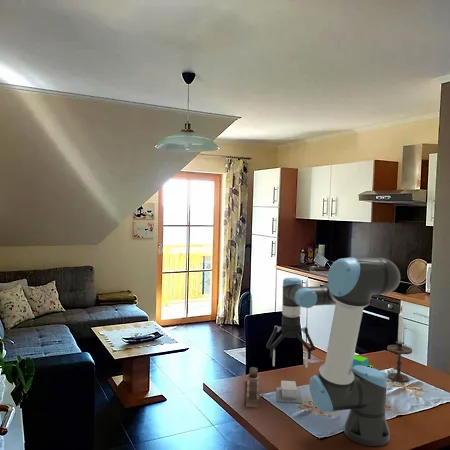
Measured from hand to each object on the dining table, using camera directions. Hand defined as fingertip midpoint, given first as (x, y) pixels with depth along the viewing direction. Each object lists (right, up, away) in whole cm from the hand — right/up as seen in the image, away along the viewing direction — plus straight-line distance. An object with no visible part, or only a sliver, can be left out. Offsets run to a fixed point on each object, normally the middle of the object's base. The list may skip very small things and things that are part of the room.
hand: (290, 365), depth 182 cm
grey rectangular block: (0, -12, +1) cm, 12 cm away
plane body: (-15, -12, +2) cm, 20 cm away
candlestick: (+54, -14, +23) cm, 60 cm away
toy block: (+36, -13, +24) cm, 46 cm away
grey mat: (0, -13, +1) cm, 13 cm away
